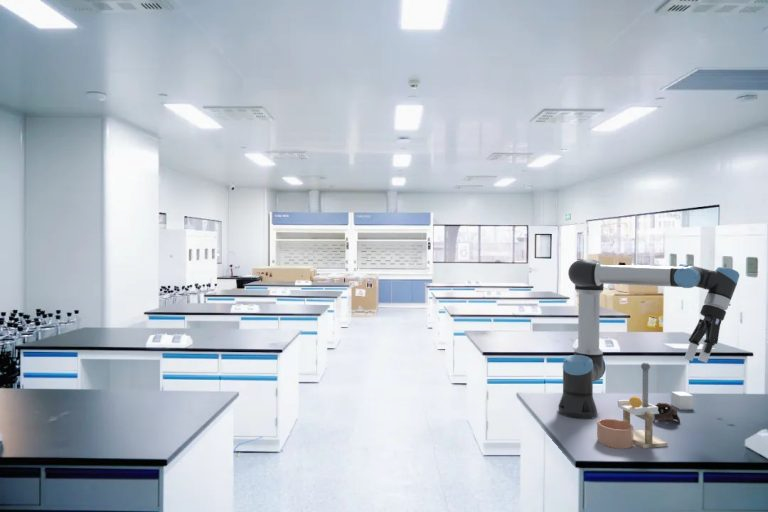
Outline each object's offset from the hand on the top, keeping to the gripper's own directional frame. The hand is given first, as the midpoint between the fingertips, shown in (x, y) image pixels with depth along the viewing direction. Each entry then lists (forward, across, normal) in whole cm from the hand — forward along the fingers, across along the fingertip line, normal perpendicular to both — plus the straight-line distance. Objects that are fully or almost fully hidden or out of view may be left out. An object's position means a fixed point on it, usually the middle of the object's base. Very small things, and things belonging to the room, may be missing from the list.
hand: (694, 360), depth 178 cm
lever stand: (+34, -6, +8) cm, 36 cm away
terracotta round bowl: (+39, -11, +18) cm, 44 cm away
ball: (+23, -10, +16) cm, 29 cm away
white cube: (+18, +40, -14) cm, 46 cm away
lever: (+28, -8, +13) cm, 32 cm away
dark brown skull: (+26, +18, -4) cm, 32 cm away
